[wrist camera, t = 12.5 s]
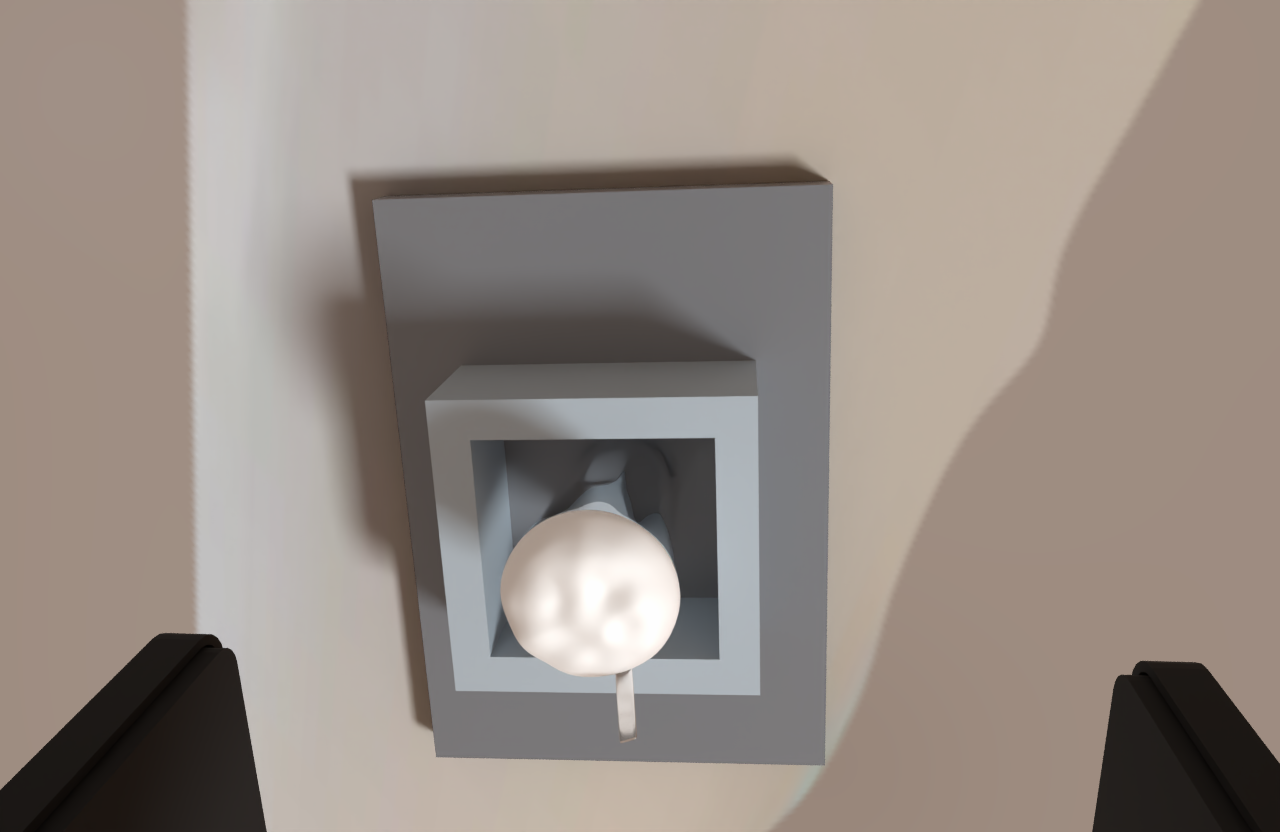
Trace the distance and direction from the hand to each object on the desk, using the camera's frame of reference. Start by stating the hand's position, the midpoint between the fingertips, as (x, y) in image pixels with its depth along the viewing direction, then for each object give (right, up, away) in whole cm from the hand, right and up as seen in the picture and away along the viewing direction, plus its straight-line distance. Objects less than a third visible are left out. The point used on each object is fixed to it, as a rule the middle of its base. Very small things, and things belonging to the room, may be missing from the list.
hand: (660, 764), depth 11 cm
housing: (-1, +1, +24) cm, 24 cm away
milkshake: (-1, +1, +23) cm, 23 cm away
